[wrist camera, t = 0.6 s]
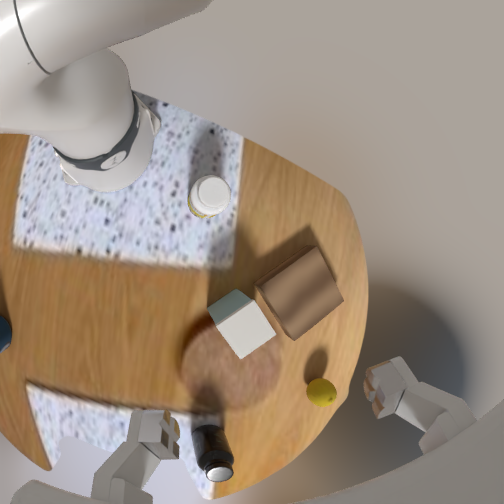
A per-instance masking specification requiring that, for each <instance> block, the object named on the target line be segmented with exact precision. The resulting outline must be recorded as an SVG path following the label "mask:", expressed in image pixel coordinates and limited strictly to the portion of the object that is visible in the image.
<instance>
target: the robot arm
mask: <svg viewBox="0 0 504 504" xmlns="http://www.w3.org/2000/svg"><path fill="white" fill-rule="evenodd" d="M212 1H213V0H0V133H11V134H26V135H33V136H37V137H40V138H42V139H43V140H45V141H46V142H48V143H49V144H51V145H52V146H53V148H54V149H55V150H54V152H55V155H56V157H59V158H60V167H61V169H62V172H63V177H64V180H65V182H66V183H67V184H68V185H72V186H78V185H82V186H85V187H88V188H90V189H92V190H94V191H98V192H114V191H118V190H121V189H123V188H125V187H127V186H129V185H131V184H132V183H133V182H135V181H136V180H137V179H138V178H139V177H140V176H141V175H142V173H143V172H144V171H145V169H146V168H147V166H148V164H149V161H150V159H151V155H152V150H153V142H154V139H155V137H156V136H157V134H158V132H159V130H160V128H161V123H160V120H159V119H158V118H157V117H156V116H155V115H154V114H153V113H152V112H151V110H150V109H149V108H148V107H147V106H146V105H145V104H144V103H143V102H142V101H141V100H140V99H139V98H138V97H137V96H136V95H135V94H134V93H133V91H132V90H131V86H130V81H129V76H128V70H127V68H126V65H125V64H124V62H123V61H122V60H121V58H120V57H119V56H118V55H116V54H115V53H114V52H112V51H110V50H109V49H107V47H110V46H112V45H115V44H118V43H121V42H124V41H126V40H129V39H133V38H135V37H139V36H142V35H144V34H146V33H148V32H150V31H153V30H155V29H157V28H160V27H162V26H164V25H167V24H170V23H172V22H175V21H177V20H180V19H182V18H185V17H187V16H190V15H192V14H195V13H198V12H201V11H202V10H204V9H205V8H206V7H207V6H208V5H209V4H210V3H211V2H212ZM151 120H152V121H151ZM366 375H367V378H366V379H365V381H364V391H365V394H366V396H367V399H368V400H370V401H372V402H373V405H372V409H373V411H374V413H375V415H376V417H377V419H379V418H382V417H384V416H387V415H390V414H392V413H394V412H395V413H396V414H397V415H399V416H400V417H402V418H404V419H405V420H407V421H408V422H410V423H411V424H413V425H415V426H416V427H418V428H420V429H421V430H423V431H424V432H426V433H425V434H424V436H423V437H422V438H421V440H420V441H419V446H420V448H421V450H422V452H423V454H424V455H423V456H421V457H419V458H418V459H416V460H414V461H412V462H410V463H408V464H406V465H404V466H402V467H400V468H397V469H395V470H393V471H391V472H389V473H386V474H384V475H382V476H379V477H377V478H374V479H372V480H369V481H367V482H364V483H361V484H358V485H356V486H353V487H350V488H347V489H344V490H341V491H338V492H334V493H331V494H327V495H324V496H320V497H316V498H312V499H308V500H304V501H300V502H294V503H290V504H504V399H503V400H502V401H501V402H500V403H499V404H498V405H496V406H495V407H494V408H493V409H492V410H491V411H489V412H488V413H487V414H485V415H484V416H483V417H482V418H480V419H479V420H478V421H477V420H476V418H475V417H474V415H473V413H472V412H471V411H470V409H469V408H468V406H467V405H466V403H465V402H464V400H463V399H461V398H458V397H456V396H453V395H451V394H449V393H446V392H444V391H442V390H439V389H437V388H435V387H433V386H430V385H428V384H426V383H424V382H420V383H419V382H418V381H417V379H416V378H415V376H414V375H413V373H412V372H411V370H410V369H409V367H408V366H407V364H406V363H405V361H404V360H403V359H402V358H401V357H400V356H399V357H396V358H394V359H391V360H388V361H385V362H383V363H380V364H378V365H375V366H373V367H370V368H368V369H367V370H366ZM170 415H171V413H170V412H169V411H168V410H167V409H164V410H134V411H133V412H132V414H131V419H130V424H129V430H128V435H127V441H126V442H123V443H122V444H121V445H120V446H119V447H118V448H117V450H116V451H115V452H114V453H113V454H112V455H111V456H110V457H109V458H108V459H107V460H106V462H105V463H104V464H103V465H102V466H101V467H100V468H99V469H98V470H97V472H95V474H94V479H93V485H92V492H91V498H88V497H84V496H81V495H78V494H75V493H71V492H68V491H65V490H62V489H59V488H56V487H54V486H50V485H48V484H46V483H43V482H40V481H38V480H31V481H29V482H27V483H26V484H25V485H23V486H22V487H21V488H20V489H19V490H17V491H16V492H15V494H14V496H13V497H12V500H11V503H10V504H152V502H153V501H152V499H153V497H152V496H151V495H150V494H148V493H146V492H145V491H143V490H142V488H143V487H144V485H145V484H146V482H147V481H148V480H149V478H150V477H151V475H152V474H153V472H154V471H155V469H156V468H157V466H158V465H159V463H160V461H161V460H164V459H179V445H178V444H177V443H176V442H177V440H178V439H179V438H180V430H179V425H178V423H177V421H176V420H175V418H172V417H170Z"/></svg>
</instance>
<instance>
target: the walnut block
mask: <svg viewBox="0 0 504 504" xmlns="http://www.w3.org/2000/svg"><path fill="white" fill-rule="evenodd" d="M254 285H255V286H256V288H257V289H258V291H259V293H260V294H261V296H262V297H263V299H264V301H265V302H266V304H267V305H268V307H269V309H270V310H271V312H272V313H273V315H274V317H275V318H276V320H277V321H278V323H279V324H280V326H281V328H282V329H283V331H284V332H285V334H286V335H287V336H288V337H290V338H291V339H292V340H293V341H295V340H296V339H298V338H299V337H300V336H302V335H303V334H304V333H305V332H307V331H308V330H309V329H310V328H312V327H313V326H314V325H316V324H317V323H318V322H319V321H321V320H322V319H323V318H324V317H325V316H327V315H328V314H329V313H330V312H331V311H333V310H334V309H335V308H336V307H337V306H339V305H340V304H341V303H342V302H343V301H344V300H343V298H342V295H341V293H340V291H339V289H338V287H337V285H336V283H335V281H334V279H333V277H332V275H331V273H330V271H329V269H328V267H327V265H326V263H325V261H324V259H323V257H322V255H321V253H320V251H319V249H318V248H317V246H306V247H304V248H303V249H301V250H300V251H299V252H297V253H296V254H294V255H293V256H292V257H290V258H289V259H287V260H286V261H284V262H283V263H282V264H280V265H279V266H277V267H276V268H275V269H273V270H272V271H270V272H269V273H267V274H266V275H264V276H263V277H262V278H260V279H259V280H257V281H256V282H254Z"/></svg>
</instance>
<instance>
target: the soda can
mask: <svg viewBox="0 0 504 504" xmlns="http://www.w3.org/2000/svg"><path fill="white" fill-rule="evenodd" d="M11 339H12V332H11V328H10V326H9V324H8V322H7V321H6V320H5V319H4V318H3V317H2V316H0V353H2V352H3V351H4V350H5V349H7V348H8V347H9V346H10V344H11Z"/></svg>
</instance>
